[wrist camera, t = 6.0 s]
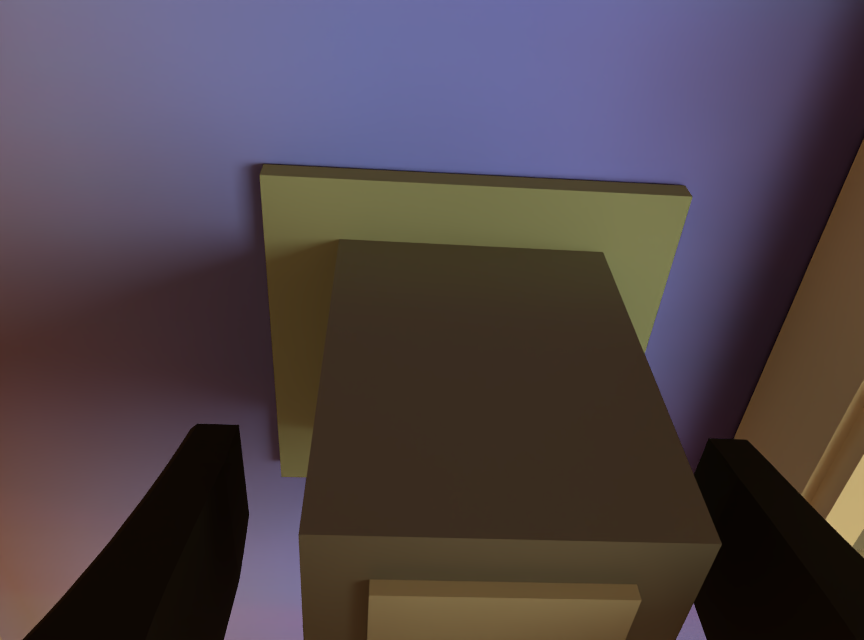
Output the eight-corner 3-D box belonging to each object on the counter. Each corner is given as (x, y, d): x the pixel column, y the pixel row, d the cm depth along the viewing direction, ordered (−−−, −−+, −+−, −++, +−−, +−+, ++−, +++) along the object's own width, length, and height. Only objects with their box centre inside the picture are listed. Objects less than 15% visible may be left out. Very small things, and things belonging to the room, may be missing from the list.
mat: (600, 470, 17) (604, 484, 16) (283, 462, 16) (281, 476, 16) (685, 185, 13) (692, 196, 12) (263, 163, 12) (259, 174, 12)
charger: (557, 438, 16) (629, 755, 11) (338, 430, 15) (307, 755, 10) (602, 251, 13) (728, 559, 8) (339, 238, 13) (296, 551, 8)
